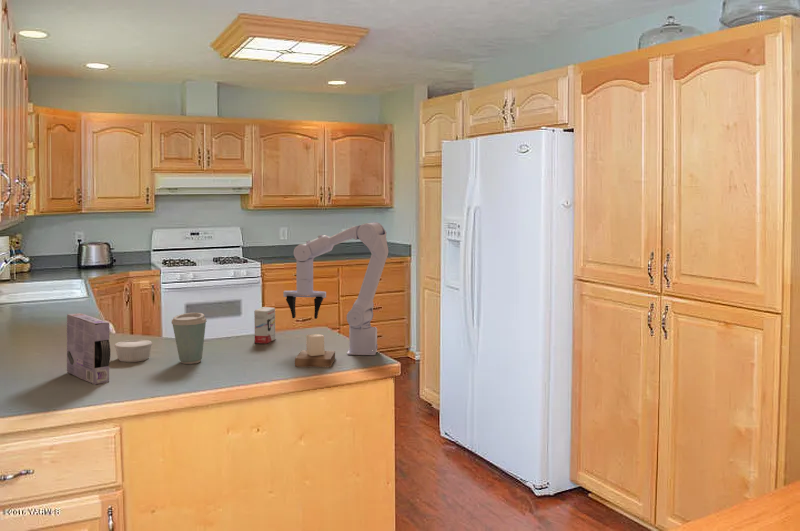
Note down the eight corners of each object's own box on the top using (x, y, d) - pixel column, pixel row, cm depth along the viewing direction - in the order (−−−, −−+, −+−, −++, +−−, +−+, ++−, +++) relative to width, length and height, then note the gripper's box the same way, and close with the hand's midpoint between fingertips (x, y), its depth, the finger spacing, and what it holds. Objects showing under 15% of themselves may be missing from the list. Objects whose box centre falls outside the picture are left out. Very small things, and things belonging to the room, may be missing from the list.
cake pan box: (113, 382, 197) (111, 320, 195) (95, 386, 193) (93, 323, 192) (83, 370, 210) (80, 312, 208) (65, 373, 206) (63, 314, 204)
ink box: (266, 344, 247) (266, 311, 246) (253, 343, 248) (253, 310, 247) (275, 338, 256) (275, 307, 254) (263, 338, 257) (263, 306, 255)
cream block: (320, 352, 225) (319, 333, 225) (324, 354, 221) (324, 335, 221) (306, 353, 223) (306, 335, 223) (310, 356, 219) (310, 337, 219)
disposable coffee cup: (193, 367, 214) (192, 319, 213) (164, 363, 218) (163, 316, 216) (214, 359, 224) (213, 313, 223) (186, 356, 228) (185, 311, 226)
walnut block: (335, 360, 228) (335, 351, 227) (330, 368, 217) (330, 359, 216) (301, 359, 228) (301, 350, 228) (295, 367, 217) (295, 358, 217)
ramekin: (143, 353, 232) (142, 337, 232) (158, 359, 224) (158, 343, 224) (109, 358, 224) (108, 342, 224) (124, 365, 216) (123, 348, 216)
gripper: (327, 277, 243) (327, 316, 245) (286, 276, 244) (286, 315, 246) (324, 280, 236) (324, 320, 238) (281, 279, 237) (282, 319, 239)
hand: (304, 317), depth 241 cm, fingers open, 7 cm apart
